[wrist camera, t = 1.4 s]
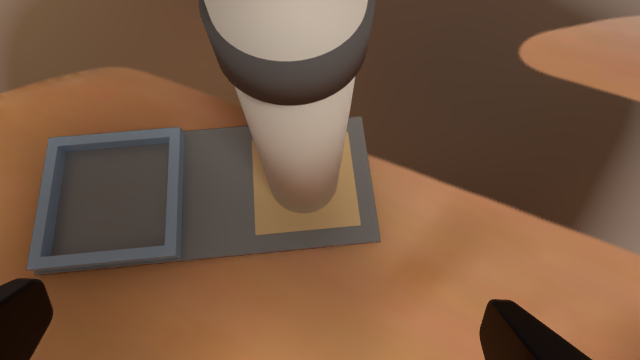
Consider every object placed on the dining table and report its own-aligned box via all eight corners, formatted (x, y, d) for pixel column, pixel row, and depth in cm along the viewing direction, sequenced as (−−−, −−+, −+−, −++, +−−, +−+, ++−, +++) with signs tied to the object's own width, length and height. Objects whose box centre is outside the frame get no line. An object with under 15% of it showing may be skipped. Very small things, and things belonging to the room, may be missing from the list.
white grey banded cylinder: (306, 232, 21) (291, 92, 8) (251, 183, 22) (155, -14, 9) (355, 177, 22) (414, -24, 9) (301, 133, 23) (282, -106, 10)
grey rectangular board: (360, 118, 24) (363, 109, 23) (379, 241, 21) (383, 238, 20) (58, 143, 23) (46, 135, 22) (37, 275, 20) (23, 273, 19)
